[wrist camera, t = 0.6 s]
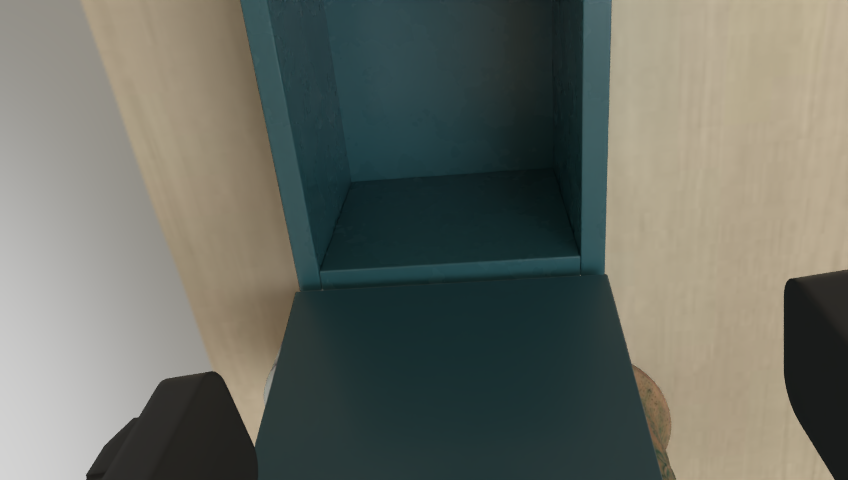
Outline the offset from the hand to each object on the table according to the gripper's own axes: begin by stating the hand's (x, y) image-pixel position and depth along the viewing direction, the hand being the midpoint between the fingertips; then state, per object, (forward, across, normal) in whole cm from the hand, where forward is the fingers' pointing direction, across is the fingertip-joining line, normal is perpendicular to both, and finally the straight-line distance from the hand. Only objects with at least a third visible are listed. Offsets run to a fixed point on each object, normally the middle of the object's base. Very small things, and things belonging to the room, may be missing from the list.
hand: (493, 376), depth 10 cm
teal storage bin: (+25, +2, 0) cm, 25 cm away
